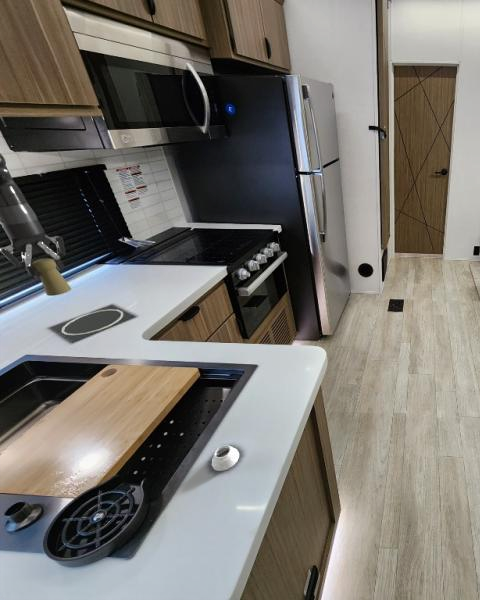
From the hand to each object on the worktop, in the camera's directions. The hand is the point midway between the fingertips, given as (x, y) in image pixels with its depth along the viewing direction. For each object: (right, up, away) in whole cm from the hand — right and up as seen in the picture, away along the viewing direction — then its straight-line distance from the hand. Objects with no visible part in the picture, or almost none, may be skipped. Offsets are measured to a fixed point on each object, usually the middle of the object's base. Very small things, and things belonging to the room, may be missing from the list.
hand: (48, 273), depth 104 cm
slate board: (+3, -17, +12) cm, 21 cm away
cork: (0, -6, +3) cm, 7 cm away
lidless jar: (+75, -42, -36) cm, 93 cm away
